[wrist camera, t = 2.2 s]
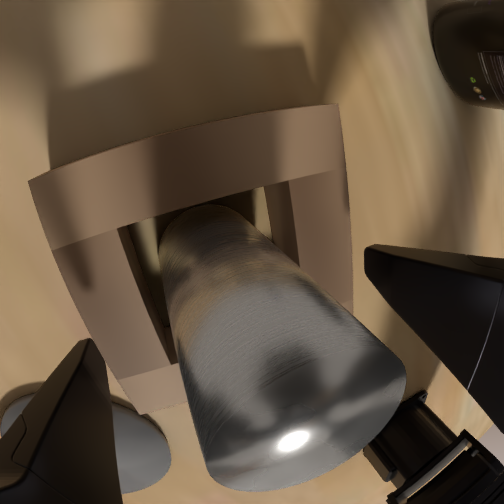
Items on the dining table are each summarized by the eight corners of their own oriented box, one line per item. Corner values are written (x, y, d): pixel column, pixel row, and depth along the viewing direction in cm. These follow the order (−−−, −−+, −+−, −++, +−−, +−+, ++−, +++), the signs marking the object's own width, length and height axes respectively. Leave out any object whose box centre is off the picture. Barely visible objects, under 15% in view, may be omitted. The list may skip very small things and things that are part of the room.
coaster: (122, 372, 14) (123, 380, 13) (192, 472, 18) (194, 479, 18) (-30, 404, 11) (-33, 411, 11) (65, 493, 16) (65, 499, 15)
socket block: (303, 105, 12) (338, 103, 10) (326, 311, 16) (352, 338, 14) (49, 170, 10) (27, 181, 7) (136, 376, 14) (139, 414, 12)
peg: (246, 192, 12) (420, 310, 5) (262, 280, 14) (391, 437, 6) (146, 221, 12) (169, 414, 4) (175, 309, 13) (235, 507, 5)
